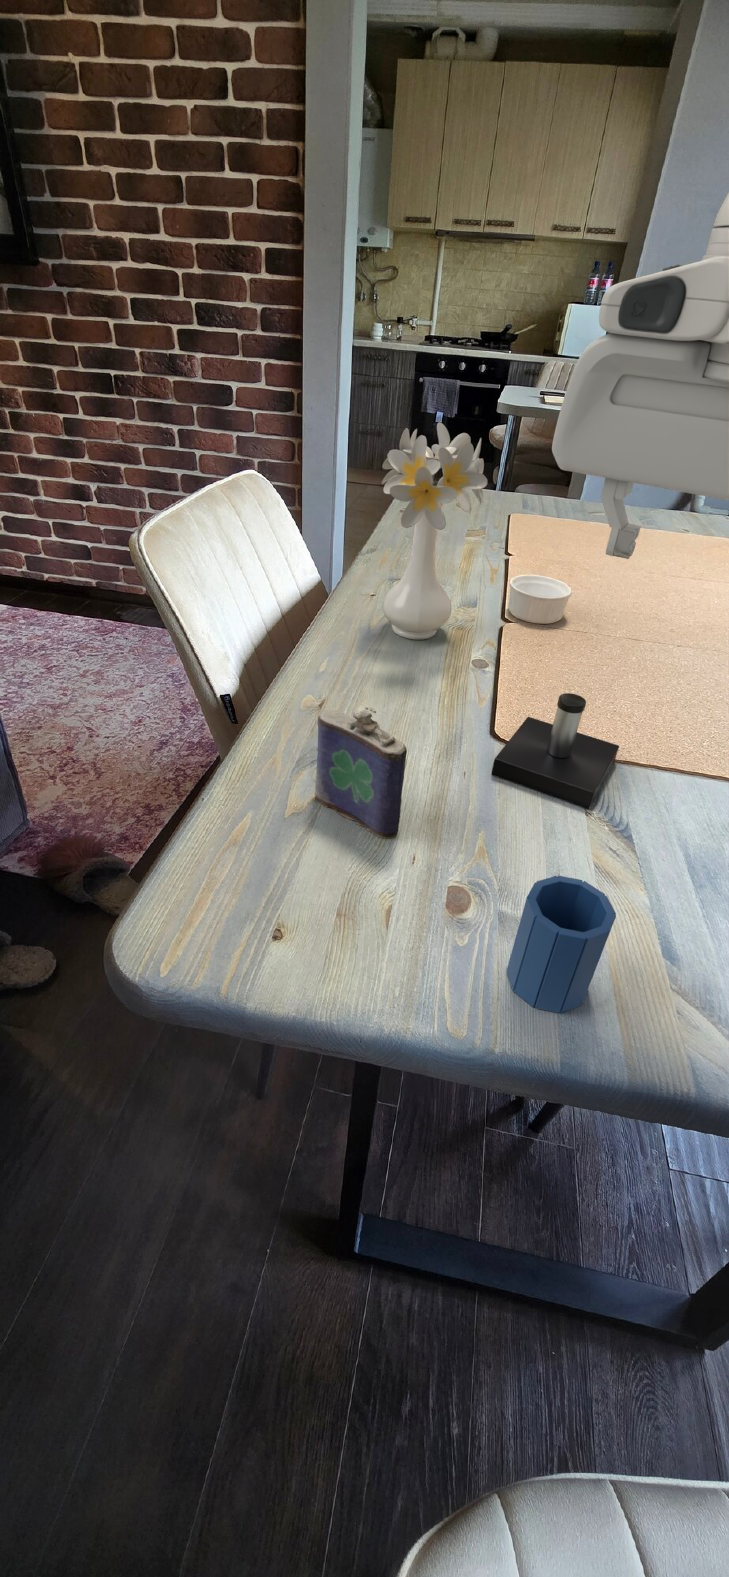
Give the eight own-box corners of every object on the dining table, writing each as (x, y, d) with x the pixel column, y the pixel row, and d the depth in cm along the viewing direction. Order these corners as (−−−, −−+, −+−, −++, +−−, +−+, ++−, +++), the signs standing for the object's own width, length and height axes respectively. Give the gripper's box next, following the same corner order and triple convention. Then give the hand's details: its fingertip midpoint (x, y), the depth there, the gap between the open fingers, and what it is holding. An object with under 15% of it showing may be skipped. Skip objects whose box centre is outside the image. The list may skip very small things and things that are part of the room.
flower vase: (369, 660, 92) (386, 445, 78) (369, 603, 107) (384, 413, 92) (472, 667, 93) (509, 454, 78) (458, 609, 108) (487, 421, 93)
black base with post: (614, 761, 77) (636, 694, 72) (588, 809, 70) (611, 738, 65) (524, 731, 81) (539, 666, 76) (490, 775, 74) (505, 705, 69)
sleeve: (595, 969, 54) (623, 896, 50) (573, 1026, 50) (601, 951, 45) (523, 937, 56) (544, 864, 52) (496, 990, 52) (516, 915, 48)
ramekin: (561, 605, 112) (568, 577, 109) (568, 629, 105) (576, 600, 102) (503, 599, 112) (508, 571, 109) (506, 622, 105) (512, 593, 102)
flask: (309, 798, 68) (312, 696, 62) (330, 785, 70) (336, 685, 64) (386, 843, 64) (399, 739, 58) (407, 828, 66) (421, 726, 60)
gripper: (1016, 326, 36) (881, 596, 44) (604, 289, 43) (553, 526, 52) (1039, 330, 32) (884, 631, 40) (574, 288, 39) (523, 549, 47)
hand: (694, 571), depth 46 cm, fingers open, 8 cm apart
